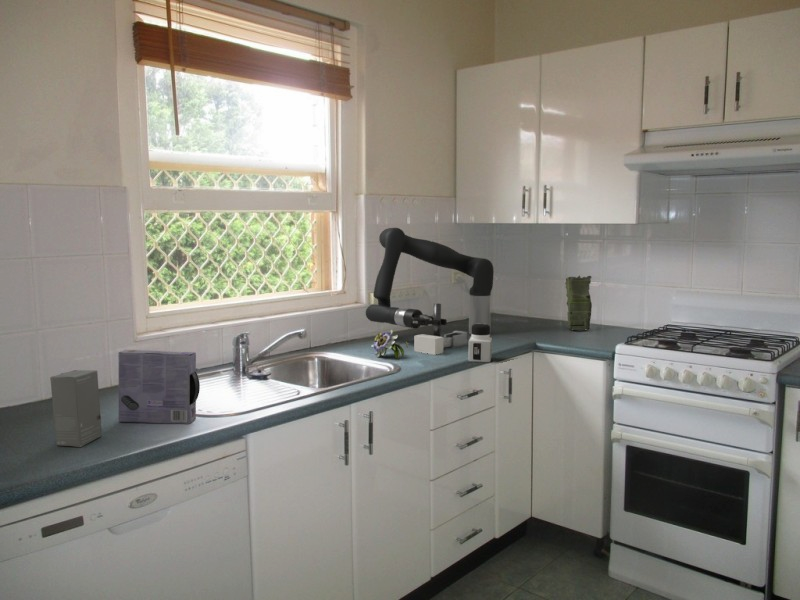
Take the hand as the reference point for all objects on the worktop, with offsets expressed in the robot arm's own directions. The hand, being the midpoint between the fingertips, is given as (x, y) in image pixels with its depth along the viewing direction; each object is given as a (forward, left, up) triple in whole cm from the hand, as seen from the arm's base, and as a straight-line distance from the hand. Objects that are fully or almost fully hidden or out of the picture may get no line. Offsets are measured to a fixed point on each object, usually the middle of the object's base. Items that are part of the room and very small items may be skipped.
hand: (443, 322), depth 253 cm
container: (+3, +19, -11) cm, 22 cm away
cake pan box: (+117, 0, -11) cm, 118 cm away
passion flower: (+21, -9, -11) cm, 25 cm away
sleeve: (-12, -3, -11) cm, 17 cm away
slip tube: (-2, -3, -11) cm, 12 cm away
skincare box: (+137, 0, -11) cm, 138 cm away
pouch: (-81, +16, -11) cm, 83 cm away
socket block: (+5, -3, -11) cm, 12 cm away
